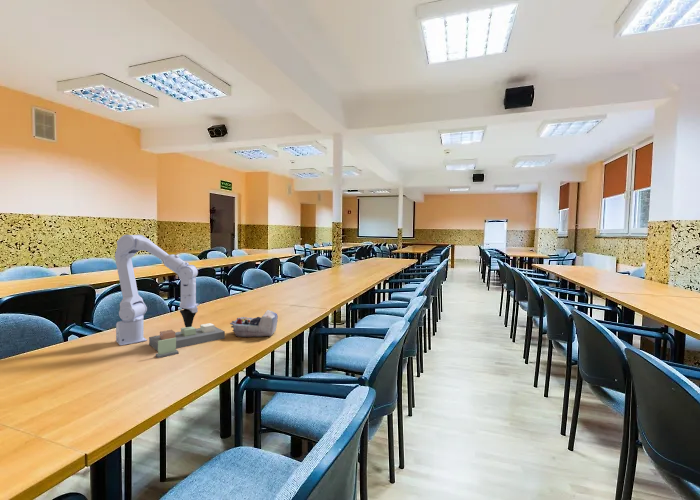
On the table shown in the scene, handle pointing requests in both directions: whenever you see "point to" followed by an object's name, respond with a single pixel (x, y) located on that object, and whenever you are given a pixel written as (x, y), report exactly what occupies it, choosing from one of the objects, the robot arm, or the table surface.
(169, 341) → the card
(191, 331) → the sage block
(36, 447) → the table surface
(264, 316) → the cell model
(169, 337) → the terracotta block
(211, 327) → the cream block
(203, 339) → the button board
